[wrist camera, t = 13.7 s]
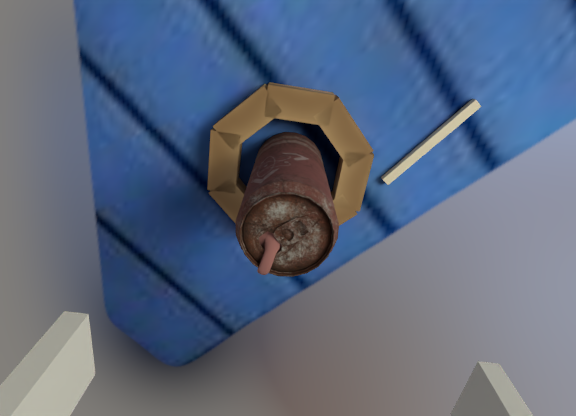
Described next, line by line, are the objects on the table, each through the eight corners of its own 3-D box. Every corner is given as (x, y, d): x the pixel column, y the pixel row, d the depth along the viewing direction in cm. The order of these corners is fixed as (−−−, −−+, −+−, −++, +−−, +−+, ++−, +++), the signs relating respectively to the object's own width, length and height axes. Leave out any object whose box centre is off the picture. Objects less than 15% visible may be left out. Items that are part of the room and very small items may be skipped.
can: (247, 184, 33) (218, 268, 21) (269, 120, 31) (252, 172, 18) (306, 204, 34) (314, 297, 21) (332, 144, 32) (358, 210, 19)
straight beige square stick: (386, 182, 33) (388, 185, 33) (380, 177, 33) (382, 179, 32) (477, 105, 30) (481, 106, 30) (472, 98, 30) (475, 99, 29)
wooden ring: (218, 74, 29) (213, 76, 27) (381, 100, 30) (387, 103, 28) (209, 221, 35) (204, 231, 33) (346, 240, 36) (349, 250, 34)
